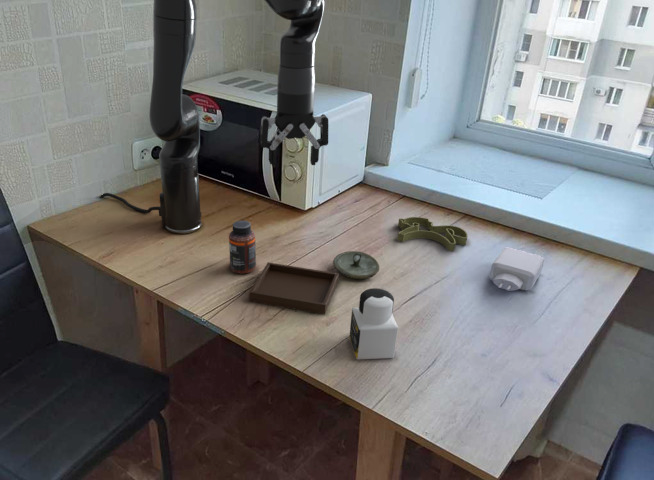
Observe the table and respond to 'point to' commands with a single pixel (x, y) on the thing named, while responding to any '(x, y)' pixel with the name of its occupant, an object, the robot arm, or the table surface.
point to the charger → (516, 269)
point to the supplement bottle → (242, 248)
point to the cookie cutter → (431, 232)
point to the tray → (294, 288)
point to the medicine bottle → (374, 325)
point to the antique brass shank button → (356, 265)
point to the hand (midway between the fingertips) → (293, 164)
